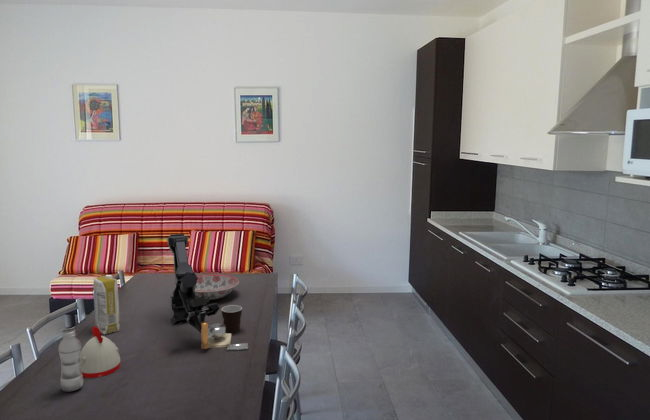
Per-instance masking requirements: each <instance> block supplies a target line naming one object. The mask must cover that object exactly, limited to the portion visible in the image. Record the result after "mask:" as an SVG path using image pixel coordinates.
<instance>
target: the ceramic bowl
mask: <svg viewBox="0 0 650 420" xmlns="http://www.w3.org/2000/svg"><path fill="white" fill-rule="evenodd" d="M196 276H197V277H198V280H197V283H196V288H195V293H196V296H199V298H200V297H202V295H204V294H208V296H209V299H210V300H218V299H221V298H224V297H226V296H228V295H229V294H230V293H231V292H232V291H233V290H234V289H235V287H236V286H238V284H239V283H240V281H239V279H238V278H237V277H235V276H234V275H227V274H213V273H212V274H203V275H202V274H201V275H196Z"/></svg>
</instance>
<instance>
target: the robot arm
mask: <svg viewBox="0 0 650 420" xmlns="http://www.w3.org/2000/svg"><path fill="white" fill-rule="evenodd" d="M166 241H167V246H168V248H169V250H170V252H171V253H172V256H173V266H174V267H173V269H174V282H175V284H174V285H175V287H174V289H173V291H172V293H171V294H172V296H170V309H171V311H173V315H172V317H171V318H170V324H171V326H177V325H178V326H179V325H180V324H182V323H185V324H187V325H189V326H192V327H193V328H194V329H196V330H197V332H199V333H200V334H201V322H205V320H206V319H205V318H206V317H211V316H215V315H216V314H217V313H218V311H219V310H220V304H219V303H217V302H214V303H210V299H209V296H208V294H204V295H202V297H200V298H199V296H196V293H195V288H196V283H197V280H198V277H197V276H198V275H197V274H196V273H195V272H194V269H193V266H191V265H190V264H189V260H188V254H187V253H188V252H187V245H189V236H188V235H185V233H173V234H172V233H171V234H169V236H168V237H167V239H166ZM207 303H209V304H208V305H207ZM205 305H206V307H205V308H204V306H205Z"/></svg>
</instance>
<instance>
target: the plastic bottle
mask: <svg viewBox="0 0 650 420" xmlns="http://www.w3.org/2000/svg"><path fill="white" fill-rule="evenodd" d="M76 336H77V333H76V329H75V328H65V329H63V330H62V331H61V337H62V339H61V341H60V342H59V344H58V347H57V349H58V353H59V354H58V355H59V358H60V365H61V373H60V374H61V376H60V382H59V385H60V389H61V390H62V391H63V392H66V393H71V392H74V391H77V390H79V389H81V388H82V386H83V385H84V377H83V375H82V372H81V365H80V354H81V351H82V343H81V341H80V340H79V338H77V337H76Z"/></svg>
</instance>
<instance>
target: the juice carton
mask: <svg viewBox="0 0 650 420" xmlns="http://www.w3.org/2000/svg"><path fill="white" fill-rule="evenodd" d="M92 284H93V285H92V286H93V289H92V290H93V306H94V307H93V308H94V318H95V319H94V320H95V321H94V322H95V326H96V328H97V327H98V329H100V333H101V335H103V336H104V335H105V334H106V335H108V333H109V334H113V333H115V332H119V331H120V322H121V321H120V303H119V286H118V285H119V284H118V280H117V278H114V277H113V274H112V275H111V274H106V275H103V276H100V277H94V278H93V283H92ZM112 332H113V333H112ZM106 335H105V336H106Z"/></svg>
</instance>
